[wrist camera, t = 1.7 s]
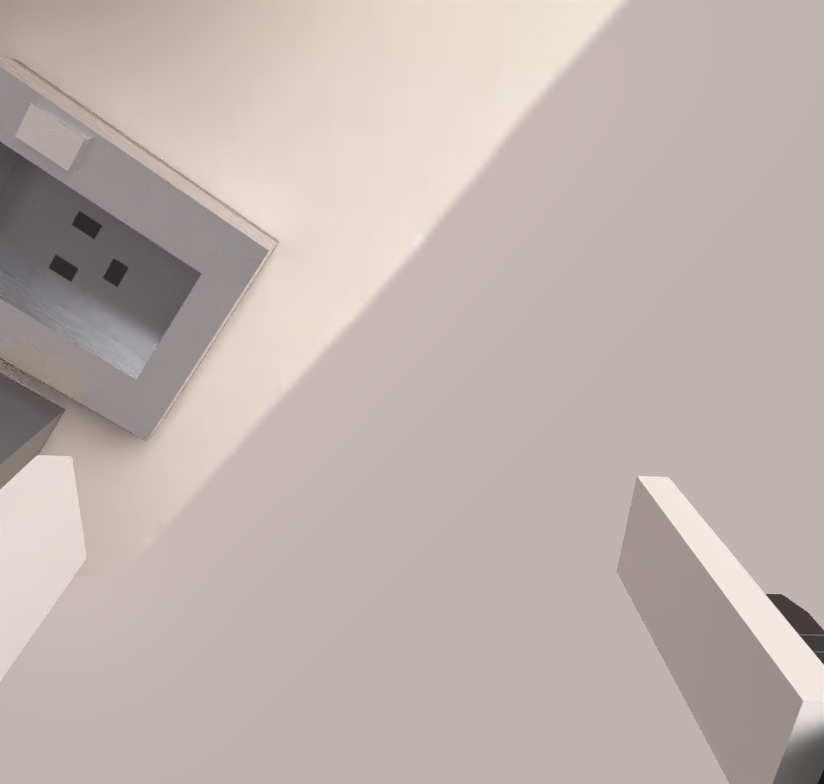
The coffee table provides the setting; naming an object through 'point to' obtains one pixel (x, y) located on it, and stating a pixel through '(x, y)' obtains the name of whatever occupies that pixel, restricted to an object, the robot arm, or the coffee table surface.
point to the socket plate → (108, 258)
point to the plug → (22, 426)
